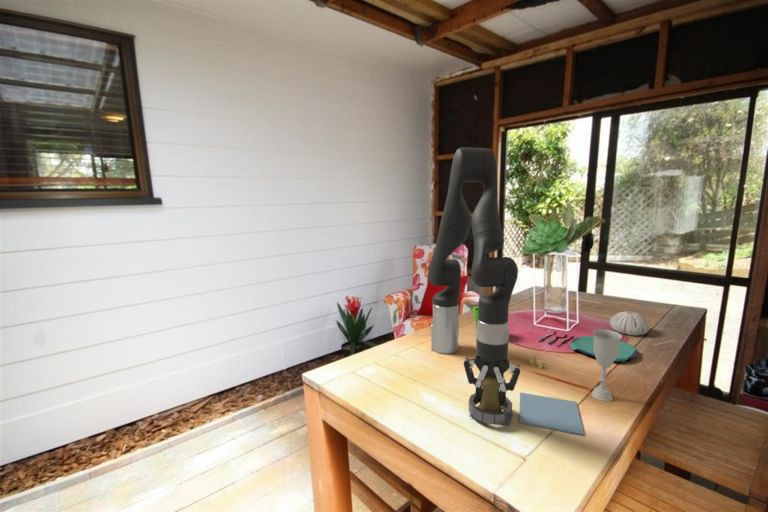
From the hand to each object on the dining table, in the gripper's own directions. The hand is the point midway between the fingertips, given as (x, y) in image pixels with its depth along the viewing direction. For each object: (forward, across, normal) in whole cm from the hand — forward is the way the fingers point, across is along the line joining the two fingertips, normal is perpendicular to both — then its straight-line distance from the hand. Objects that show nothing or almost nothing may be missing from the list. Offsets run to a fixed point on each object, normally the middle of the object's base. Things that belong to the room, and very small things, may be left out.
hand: (490, 400), depth 90 cm
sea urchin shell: (+4, +47, +76) cm, 89 cm away
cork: (+4, 0, 0) cm, 4 cm away
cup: (+4, -7, +53) cm, 54 cm away
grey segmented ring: (+4, 0, 0) cm, 4 cm away
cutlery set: (+5, +29, +54) cm, 62 cm away
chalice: (+4, +28, +19) cm, 34 cm away
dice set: (+5, +12, +34) cm, 36 cm away
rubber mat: (+4, +14, +6) cm, 16 cm away
